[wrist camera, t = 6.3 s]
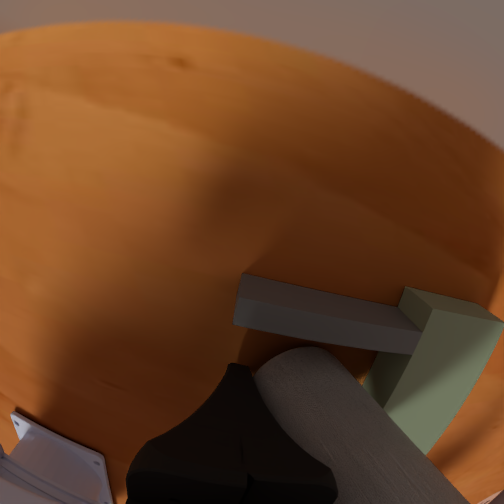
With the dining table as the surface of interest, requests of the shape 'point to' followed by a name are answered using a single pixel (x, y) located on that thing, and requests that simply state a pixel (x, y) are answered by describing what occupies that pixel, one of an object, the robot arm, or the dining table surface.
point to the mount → (387, 344)
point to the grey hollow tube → (348, 432)
